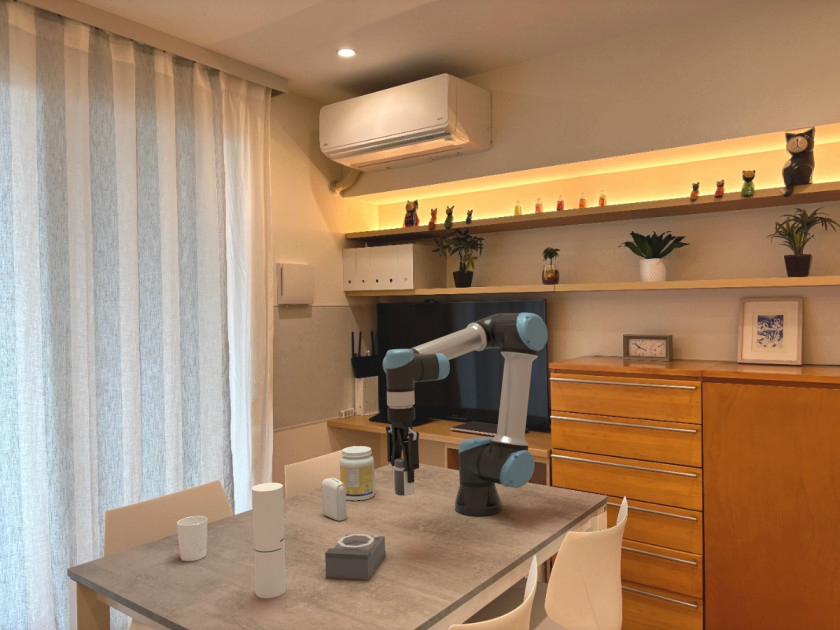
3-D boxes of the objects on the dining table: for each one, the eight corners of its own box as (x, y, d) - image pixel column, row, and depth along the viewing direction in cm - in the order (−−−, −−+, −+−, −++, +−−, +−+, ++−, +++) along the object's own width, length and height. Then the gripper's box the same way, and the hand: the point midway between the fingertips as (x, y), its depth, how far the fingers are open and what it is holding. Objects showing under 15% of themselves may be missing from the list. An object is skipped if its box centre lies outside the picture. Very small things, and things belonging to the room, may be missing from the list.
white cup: (180, 564, 166) (178, 527, 166) (176, 554, 173) (175, 518, 173) (210, 558, 170) (209, 521, 170) (206, 548, 177) (205, 513, 177)
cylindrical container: (291, 586, 151) (288, 483, 150) (275, 600, 144) (272, 492, 144) (266, 583, 153) (262, 481, 153) (249, 596, 146) (245, 490, 146)
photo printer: (320, 514, 204) (319, 476, 203) (331, 511, 206) (330, 474, 206) (337, 522, 196) (335, 483, 195) (348, 519, 198) (347, 480, 198)
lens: (415, 490, 171) (414, 457, 171) (411, 496, 166) (410, 462, 166) (397, 489, 172) (396, 457, 172) (393, 495, 167) (392, 461, 167)
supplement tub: (345, 491, 229) (344, 445, 229) (378, 491, 227) (376, 445, 227) (336, 501, 217) (335, 453, 217) (371, 501, 215) (369, 453, 215)
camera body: (346, 552, 171) (345, 528, 171) (385, 554, 169) (384, 530, 168) (325, 577, 155) (325, 551, 155) (368, 580, 153) (367, 553, 153)
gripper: (431, 408, 163) (434, 497, 163) (395, 401, 178) (398, 482, 179) (407, 412, 159) (409, 502, 159) (372, 404, 174) (375, 486, 175)
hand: (403, 491), depth 169 cm, fingers closed on lens, 5 cm apart
